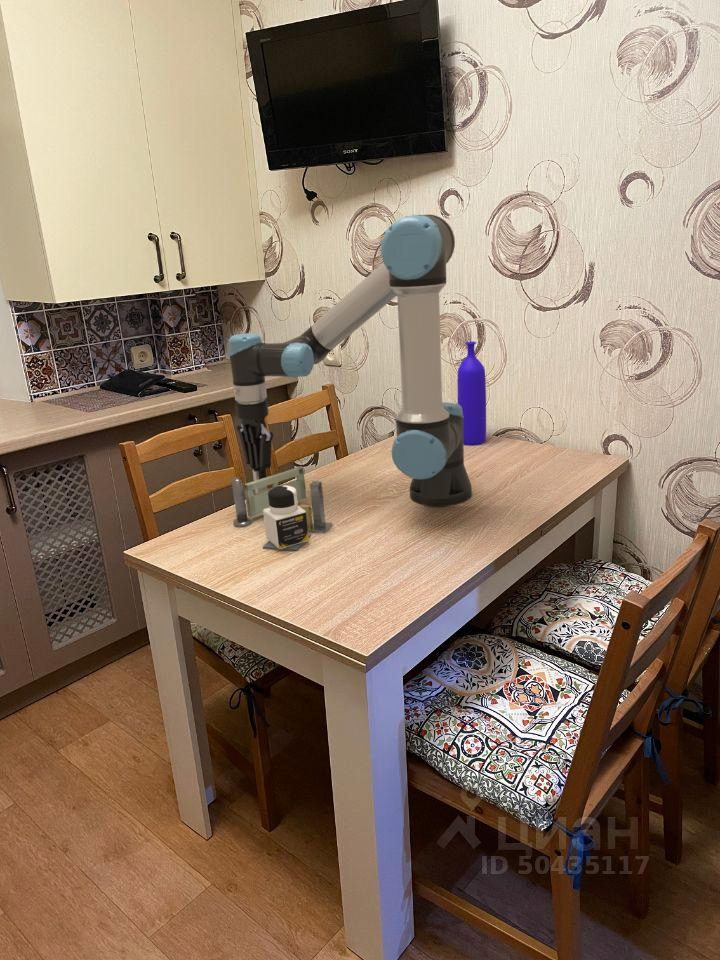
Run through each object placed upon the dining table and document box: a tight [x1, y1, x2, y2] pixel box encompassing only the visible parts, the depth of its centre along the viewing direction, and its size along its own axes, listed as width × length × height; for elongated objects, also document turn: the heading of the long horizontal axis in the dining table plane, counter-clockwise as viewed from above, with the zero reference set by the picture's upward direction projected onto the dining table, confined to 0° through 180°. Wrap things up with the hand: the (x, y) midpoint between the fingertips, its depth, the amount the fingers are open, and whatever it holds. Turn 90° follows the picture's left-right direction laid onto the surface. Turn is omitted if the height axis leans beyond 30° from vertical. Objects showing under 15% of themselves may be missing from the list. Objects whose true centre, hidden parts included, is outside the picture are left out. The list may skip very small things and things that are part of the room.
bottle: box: [456, 340, 487, 446], centre depth 208 cm, size 8×8×30 cm
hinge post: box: [231, 476, 253, 528], centre depth 164 cm, size 4×4×11 cm
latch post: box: [298, 480, 333, 534], centre depth 158 cm, size 6×4×11 cm
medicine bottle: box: [262, 485, 310, 549], centre depth 152 cm, size 7×7×12 cm
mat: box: [262, 533, 312, 552], centre depth 154 cm, size 8×8×1 cm
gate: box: [243, 466, 307, 518], centre depth 170 cm, size 16×1×8 cm, turn 129°
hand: (261, 493), depth 175 cm, fingers closed
